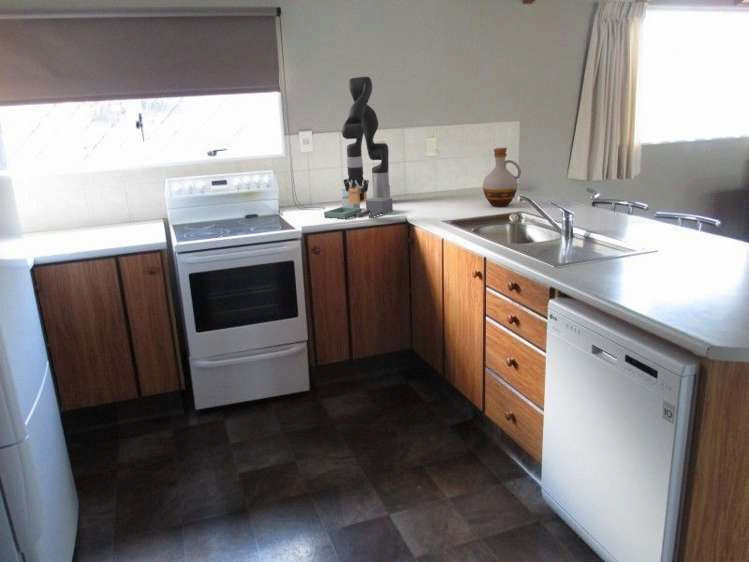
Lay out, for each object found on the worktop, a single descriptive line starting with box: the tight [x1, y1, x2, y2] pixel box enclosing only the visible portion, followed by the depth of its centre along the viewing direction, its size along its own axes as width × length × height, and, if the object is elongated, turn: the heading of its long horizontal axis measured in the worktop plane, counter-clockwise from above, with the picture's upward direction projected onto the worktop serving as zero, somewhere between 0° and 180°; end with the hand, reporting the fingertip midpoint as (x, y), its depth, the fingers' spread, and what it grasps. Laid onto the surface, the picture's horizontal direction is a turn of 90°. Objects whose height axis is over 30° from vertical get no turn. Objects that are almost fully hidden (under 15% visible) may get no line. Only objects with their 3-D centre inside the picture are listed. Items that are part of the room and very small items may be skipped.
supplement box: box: [341, 186, 361, 208], centre depth 342 cm, size 7×7×13 cm
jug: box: [482, 147, 522, 208], centre depth 330 cm, size 20×18×30 cm
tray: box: [323, 206, 363, 220], centre depth 329 cm, size 15×13×3 cm
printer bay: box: [355, 197, 394, 219], centre depth 328 cm, size 20×10×7 cm, turn 146°
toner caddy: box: [348, 187, 368, 204], centre depth 314 cm, size 9×5×7 cm, turn 146°
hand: (357, 200), depth 314 cm, fingers closed on toner caddy, 5 cm apart
